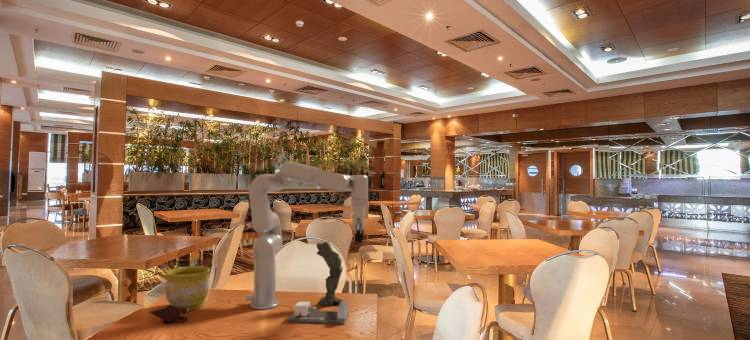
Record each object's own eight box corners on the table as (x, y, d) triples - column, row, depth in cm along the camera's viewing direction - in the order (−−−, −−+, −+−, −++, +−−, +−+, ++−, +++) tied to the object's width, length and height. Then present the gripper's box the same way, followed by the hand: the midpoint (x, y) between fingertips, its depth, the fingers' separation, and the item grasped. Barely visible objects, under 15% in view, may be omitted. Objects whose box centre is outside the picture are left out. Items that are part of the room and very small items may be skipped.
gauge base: (288, 321, 156) (288, 305, 156) (295, 313, 166) (295, 298, 166) (344, 324, 154) (344, 307, 154) (348, 315, 164) (348, 300, 164)
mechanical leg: (351, 300, 182) (337, 237, 184) (349, 304, 175) (334, 240, 177) (323, 305, 184) (309, 244, 185) (320, 310, 177) (305, 246, 178)
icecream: (144, 309, 151) (182, 313, 151) (155, 299, 158) (191, 302, 158) (144, 325, 152) (182, 328, 152) (155, 314, 160) (191, 317, 160)
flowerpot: (216, 301, 182) (216, 266, 182) (197, 314, 164) (198, 275, 164) (178, 300, 182) (179, 265, 183) (155, 313, 164) (156, 275, 165)
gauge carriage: (293, 317, 156) (293, 307, 156) (298, 310, 164) (299, 301, 164) (312, 318, 155) (312, 308, 156) (317, 311, 163) (317, 302, 163)
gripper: (352, 201, 182) (352, 237, 181) (349, 203, 165) (349, 243, 164) (368, 201, 182) (368, 238, 181) (367, 203, 164) (366, 244, 164)
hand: (359, 240), depth 173 cm, fingers open, 9 cm apart
